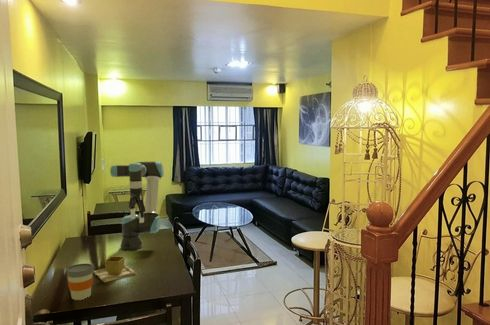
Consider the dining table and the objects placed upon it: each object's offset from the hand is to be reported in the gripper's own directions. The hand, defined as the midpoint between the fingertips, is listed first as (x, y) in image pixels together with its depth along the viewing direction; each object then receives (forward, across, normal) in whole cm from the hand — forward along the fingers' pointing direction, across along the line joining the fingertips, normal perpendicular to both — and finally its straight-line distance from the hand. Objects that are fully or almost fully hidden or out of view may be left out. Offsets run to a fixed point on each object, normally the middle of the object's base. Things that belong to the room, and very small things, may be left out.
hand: (137, 220), depth 244 cm
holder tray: (+27, +11, -20) cm, 35 cm away
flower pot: (+26, +13, -20) cm, 35 cm away
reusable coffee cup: (+27, +30, -44) cm, 60 cm away
